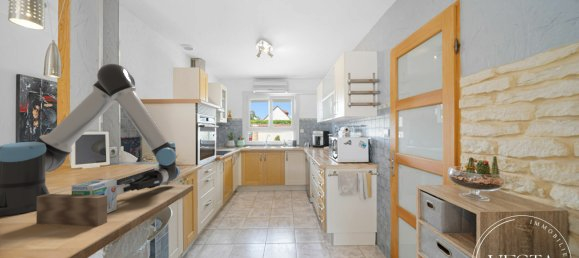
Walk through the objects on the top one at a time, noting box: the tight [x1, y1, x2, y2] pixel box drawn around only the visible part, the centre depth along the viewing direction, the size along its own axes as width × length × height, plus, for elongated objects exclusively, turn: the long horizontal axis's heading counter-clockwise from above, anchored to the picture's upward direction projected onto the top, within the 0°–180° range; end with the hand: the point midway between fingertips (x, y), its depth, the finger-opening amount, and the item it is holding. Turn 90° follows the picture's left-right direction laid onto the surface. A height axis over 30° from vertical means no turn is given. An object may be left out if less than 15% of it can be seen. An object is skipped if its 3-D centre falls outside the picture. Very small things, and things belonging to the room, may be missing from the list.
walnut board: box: [35, 193, 108, 227], centre depth 70 cm, size 20×3×8 cm, turn 84°
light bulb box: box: [71, 178, 118, 214], centre depth 77 cm, size 11×7×11 cm, turn 0°
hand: (112, 192), depth 82 cm, fingers closed on light bulb box
